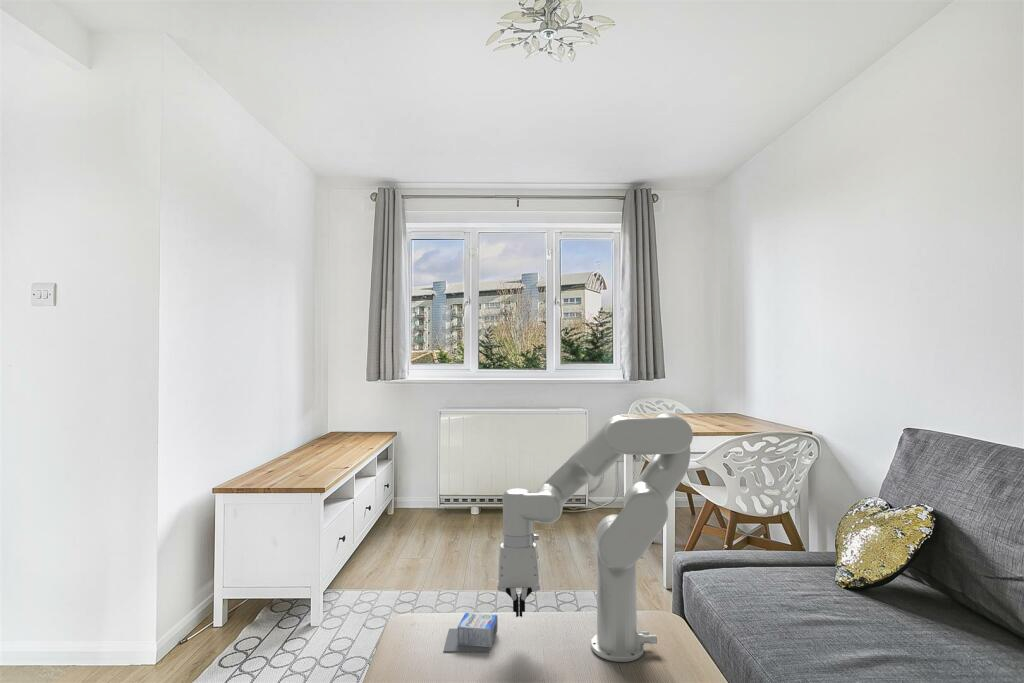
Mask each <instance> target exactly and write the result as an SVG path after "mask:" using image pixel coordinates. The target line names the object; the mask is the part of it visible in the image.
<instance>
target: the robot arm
mask: <svg viewBox="0 0 1024 683" xmlns="http://www.w3.org/2000/svg"><path fill="white" fill-rule="evenodd" d="M693 438H694V433H693V429H692V427H691V425H690V423H688V422H687V420H685V419H684V418H683V417H680V416H678V415H677V414H674V413H671V412H666V413H665V412H663V413H661V414H659V415H657V416H656V417H630V416H628V415H624V414H616V415H614V416H612V417H610V418H609V419H608V420H607V421H606V422H605V423H604V424H602V426H601V427H600V428H599V429H598V430H597V431H596V432H595V433H594V434H593V435H592V436H591V437H590V438H589V439H588V440H587V441H585V443H583V445H582V446H580V448H578V449H577V450H576V451H575V452H574V453H573V454H572V456H570V457H569V458H568V460H566V461H565V463H563V465H561V466H560V467H559V468H558V469H557V470H556V471H555V472H553V474H552V475H551V476H550V477H549V478H548V479H547V480H545V481H544V483H543V484H542V485H541V486H540V487H538V489H537V491H536V492H535V493H532V491H530V490H529V489H527V488H523V487H521V488H519V487H518V488H517V487H516V488H508V489H507V490H505V491H504V492H503V494H502V532H503V534H502V540H503V541H502V543H500V546H499V553H498V571H497V572H498V573H497V574H498V575H497V577H498V582H497V591H499V592H501V593H506V594H507V595H508V596H509V597H510V598H511V600H512V612H513V613H515V617H516V618H519V617H520V618H523V613H525V612H526V600H527V598H528V597H529V596H530V595H531V594H532V593H535V592H538V591H540V590H541V585H540V568H539V555H538V549H537V543H535V542H536V541H539V540H540V537H539V536H540V535H539V534H535V533H534V523H535V522H536V523H540V524H545V525H546V524H553V523H555V522H557V521H558V520H559V519H560V518H561V516H562V514H563V509H564V508H563V507H564V505H565V504H566V503H567V502H568V501H569V499H570V498H572V497H573V496H574V495H575V494H576V493H577V492H578V491H580V489H582V487H584V486H586V485H587V484H590V483H593V482H595V481H597V480H598V479H601V478H602V476H604V475H605V473H606V472H608V471H609V469H610V468H612V467H613V466H614V465H615V463H616V462H618V461H619V460H620V458H622V457H623V456H625V455H630V456H631V455H632V456H633V455H634V456H635V455H637V456H639V455H640V456H646V455H653V456H652V457H651V459H650V461H649V462H648V463H647V465H646V467H645V468H644V469H643V471H642V472H641V473H640V474H639V476H638V477H637V478H636V480H634V482H632V484H631V485H630V487H629V488H628V489H627V490H626V492H625V494H624V496H623V506H624V507H622V509H621V510H620V512H619V513H618V514H609V515H606V516H604V517H603V518H602V519H601V520H600V522H599V523H598V525H597V528H596V533H595V548H596V628H597V629H596V634H595V635H593V637H592V638H591V639H590V649H591V651H592V652H593V653H594V654H596V655H597V656H598V657H600V658H602V659H603V660H607V661H610V662H617V663H627V662H633V661H636V660H638V659H640V658H641V657H642V656H643V654H644V650H645V649H644V648H645V647H644V646H645V644H649V645H657V644H658V637H657V634H650V631H649V630H642V631H641V630H640V629H638V626H637V624H638V623H637V620H638V619H637V618H638V614H637V613H638V612H637V610H638V608H637V604H638V603H637V598H638V597H637V585H638V584H637V562H638V561H639V560H640V559H641V557H642V556H643V555H644V553H645V552H646V551H647V550H648V549H649V547H651V545H652V543H653V542H654V541H655V539H656V538H657V537H658V536H659V535H660V533H661V532H662V530H663V529H664V527H665V525H666V523H667V520H668V517H669V508H668V503H667V502H668V500H669V499H670V498H671V496H673V494H674V492H675V491H676V489H677V488H678V486H679V485H680V484H681V482H682V481H683V479H684V477H685V476H686V474H687V472H688V469H689V466H690V461H691V445H692V442H693ZM517 589H521V592H520V594H518V593H517ZM518 595H519V596H518Z"/></svg>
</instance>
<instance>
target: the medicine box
mask: <svg viewBox="0 0 1024 683" xmlns="http://www.w3.org/2000/svg"><path fill="white" fill-rule="evenodd" d="M498 620H499V619H498V615H497V614H486V613H474V612H465V613H464V615H463V616H462V618H461V620H460V622H459V624H458V625H457V628H456V629H457V640H458V645H468V646H479V647H490V648H491V647H492V646H493V644H494V640H495V638H496V636H497V633H498V627H499V626H498Z"/></svg>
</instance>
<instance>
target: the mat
mask: <svg viewBox="0 0 1024 683" xmlns="http://www.w3.org/2000/svg"><path fill="white" fill-rule="evenodd" d="M457 629H458V628H448V632H447V635H446V639H445V643H444V647H443V650H442V651H443V652H442V653H490V648H491V647H479V646H468V645H458V640H457Z"/></svg>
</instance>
